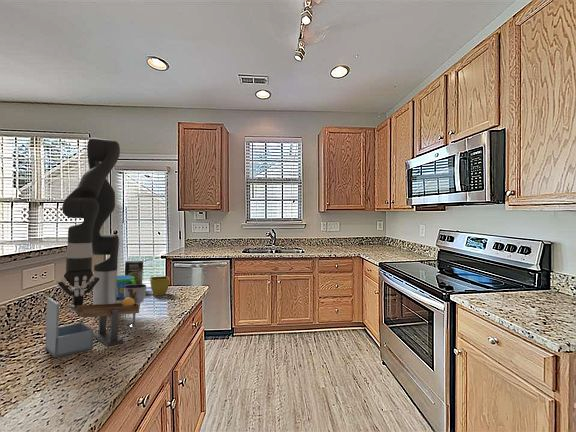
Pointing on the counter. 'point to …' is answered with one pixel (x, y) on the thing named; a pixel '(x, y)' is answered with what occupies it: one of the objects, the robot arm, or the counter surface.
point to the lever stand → (106, 335)
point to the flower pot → (159, 285)
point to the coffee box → (134, 270)
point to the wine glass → (135, 299)
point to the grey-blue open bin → (65, 334)
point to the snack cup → (123, 284)
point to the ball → (128, 302)
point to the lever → (104, 309)
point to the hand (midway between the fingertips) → (77, 306)
